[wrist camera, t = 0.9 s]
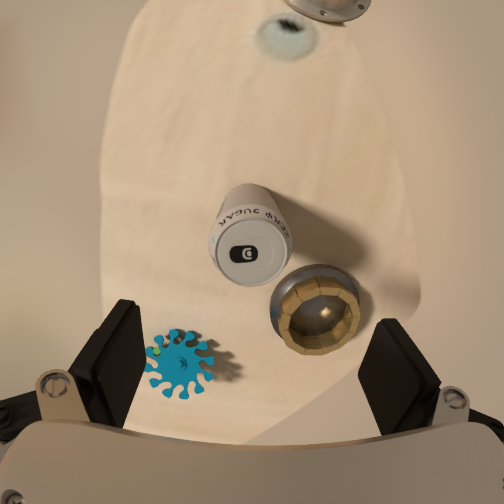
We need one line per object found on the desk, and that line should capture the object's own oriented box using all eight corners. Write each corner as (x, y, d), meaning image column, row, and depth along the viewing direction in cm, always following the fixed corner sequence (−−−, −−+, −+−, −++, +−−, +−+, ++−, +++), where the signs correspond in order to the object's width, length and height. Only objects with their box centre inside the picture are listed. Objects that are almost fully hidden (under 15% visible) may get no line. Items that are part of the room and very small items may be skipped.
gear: (225, 345, 38) (200, 411, 33) (222, 349, 43) (200, 406, 38) (151, 313, 38) (124, 377, 33) (157, 321, 43) (134, 377, 38)
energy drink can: (276, 231, 34) (296, 291, 20) (225, 235, 34) (210, 297, 20) (273, 180, 32) (295, 205, 18) (220, 184, 32) (199, 212, 18)
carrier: (276, 260, 35) (280, 275, 31) (365, 267, 36) (378, 282, 32) (264, 338, 39) (265, 359, 35) (343, 341, 40) (352, 360, 36)
